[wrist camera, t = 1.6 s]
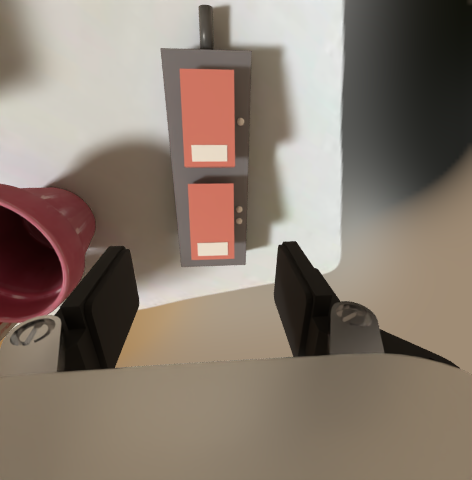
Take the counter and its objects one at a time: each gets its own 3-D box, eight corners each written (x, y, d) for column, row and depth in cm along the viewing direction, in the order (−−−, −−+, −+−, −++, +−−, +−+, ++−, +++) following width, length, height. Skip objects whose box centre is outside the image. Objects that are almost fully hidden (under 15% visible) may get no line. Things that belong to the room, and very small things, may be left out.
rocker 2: (189, 183, 31) (187, 183, 29) (232, 183, 31) (233, 183, 29) (192, 256, 33) (191, 260, 31) (233, 255, 33) (234, 258, 31)
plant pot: (-17, 171, 32) (-145, 200, 21) (96, 161, 33) (34, 184, 21) (30, 268, 38) (-48, 331, 27) (125, 258, 39) (88, 316, 28)
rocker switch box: (163, 11, 27) (152, -12, 22) (247, 14, 28) (254, -7, 23) (184, 253, 39) (180, 271, 35) (242, 251, 40) (246, 269, 35)
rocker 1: (181, 75, 26) (179, 68, 24) (232, 76, 26) (234, 69, 25) (186, 167, 28) (184, 166, 26) (233, 167, 28) (235, 166, 27)
